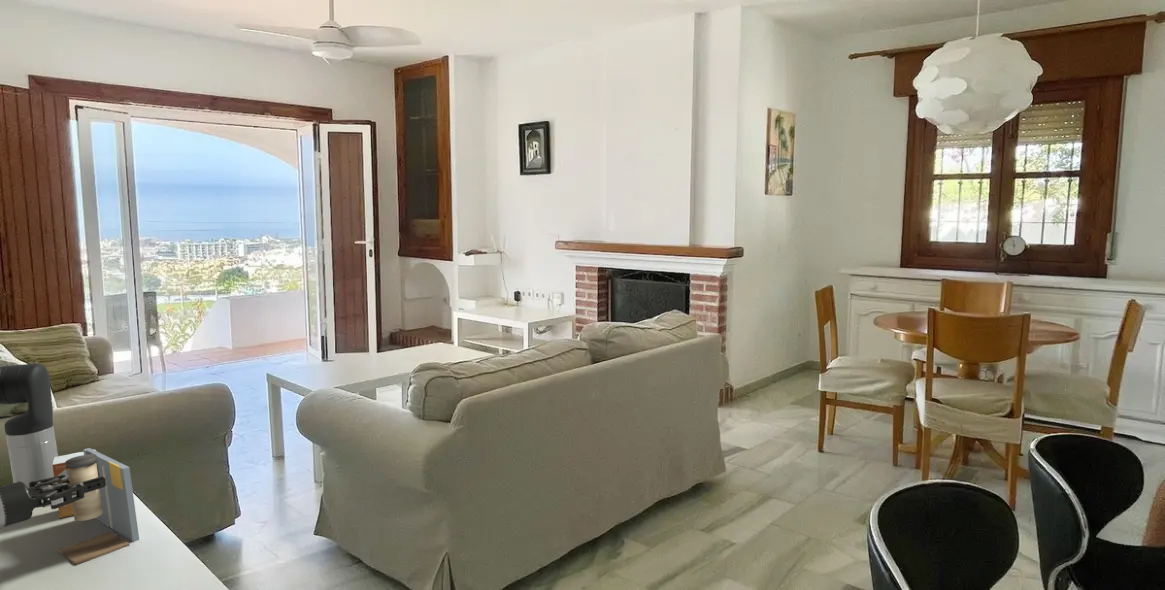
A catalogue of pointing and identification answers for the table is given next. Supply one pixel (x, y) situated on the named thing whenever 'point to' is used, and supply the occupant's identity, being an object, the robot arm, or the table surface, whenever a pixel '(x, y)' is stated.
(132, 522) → the panel
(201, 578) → the table surface
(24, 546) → the table surface
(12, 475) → the robot arm
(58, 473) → the small box
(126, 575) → the table surface
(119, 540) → the walnut pad
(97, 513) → the post
